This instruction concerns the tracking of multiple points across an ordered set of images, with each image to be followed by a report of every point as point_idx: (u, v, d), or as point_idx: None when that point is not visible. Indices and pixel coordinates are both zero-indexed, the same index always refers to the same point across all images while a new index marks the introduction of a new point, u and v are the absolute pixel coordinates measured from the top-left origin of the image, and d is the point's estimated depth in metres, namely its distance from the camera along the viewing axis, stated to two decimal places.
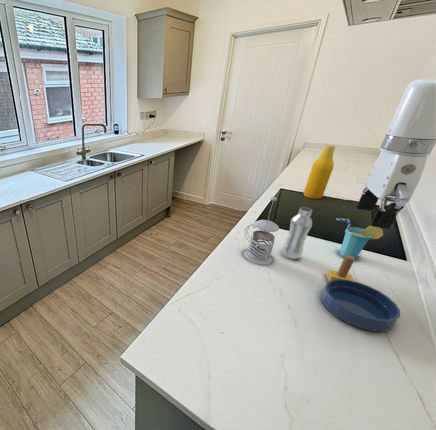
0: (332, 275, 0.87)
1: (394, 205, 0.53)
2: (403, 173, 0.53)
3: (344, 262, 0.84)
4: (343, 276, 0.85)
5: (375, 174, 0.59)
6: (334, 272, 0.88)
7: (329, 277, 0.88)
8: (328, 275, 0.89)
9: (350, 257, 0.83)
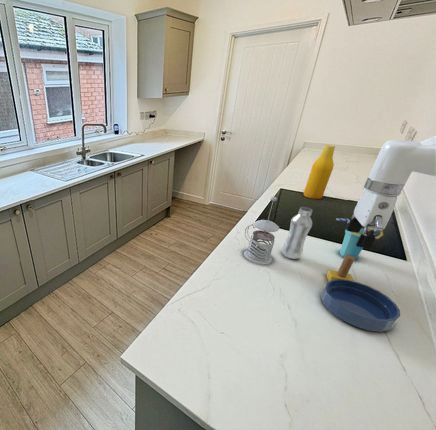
0: (332, 275, 0.87)
1: (373, 232, 0.71)
2: (380, 208, 0.71)
3: (344, 262, 0.84)
4: (343, 276, 0.85)
5: (360, 206, 0.77)
6: (334, 272, 0.88)
7: (329, 277, 0.88)
8: (328, 275, 0.89)
9: (350, 257, 0.83)
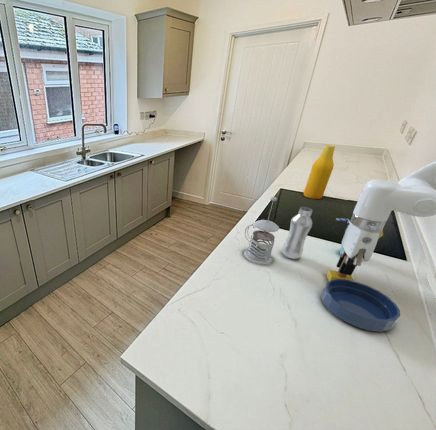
0: (332, 275, 0.87)
1: (352, 262, 0.79)
2: (364, 242, 0.76)
3: None
4: (343, 276, 0.85)
5: (346, 238, 0.82)
6: (334, 272, 0.88)
7: (329, 277, 0.88)
8: (328, 275, 0.89)
9: None
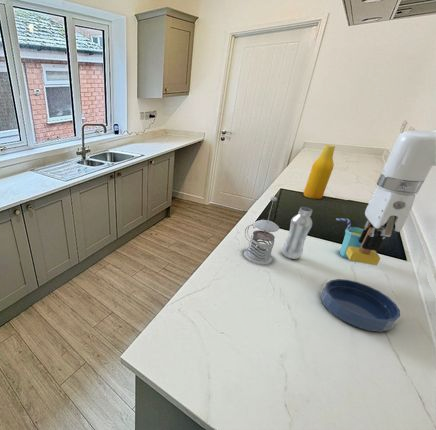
0: (354, 251, 0.74)
1: (380, 233, 0.66)
2: (395, 208, 0.63)
3: None
4: (367, 252, 0.72)
5: (372, 206, 0.69)
6: (356, 248, 0.75)
7: (349, 253, 0.75)
8: (348, 251, 0.76)
9: None
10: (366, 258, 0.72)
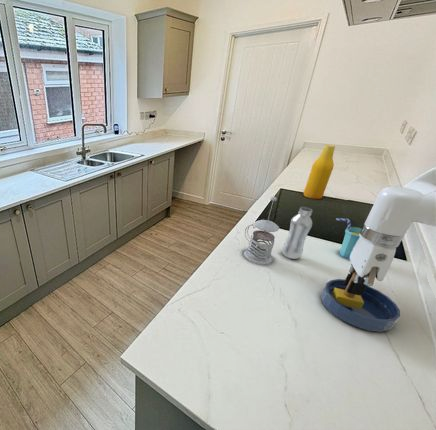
0: (339, 294, 0.76)
1: (363, 281, 0.69)
2: (377, 259, 0.65)
3: (352, 280, 0.73)
4: (351, 296, 0.74)
5: (356, 253, 0.71)
6: (341, 291, 0.77)
7: (335, 296, 0.77)
8: (334, 293, 0.78)
9: None
10: (350, 301, 0.74)
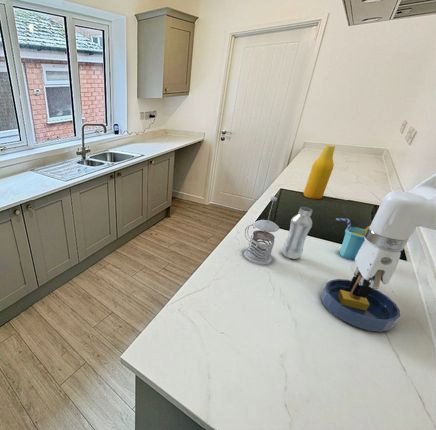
0: (345, 296, 0.77)
1: (368, 284, 0.70)
2: (382, 263, 0.67)
3: None
4: (357, 298, 0.76)
5: (361, 256, 0.73)
6: (346, 293, 0.78)
7: (341, 298, 0.78)
8: (339, 295, 0.79)
9: None
10: (356, 303, 0.76)
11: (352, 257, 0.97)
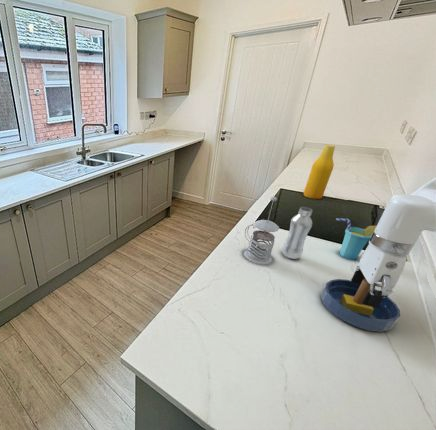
0: (348, 301, 0.76)
1: (380, 293, 0.65)
2: (388, 267, 0.65)
3: (362, 287, 0.73)
4: (360, 303, 0.74)
5: (366, 260, 0.71)
6: (350, 297, 0.77)
7: (344, 303, 0.77)
8: (343, 300, 0.78)
9: None
10: (360, 308, 0.74)
11: (352, 257, 0.97)
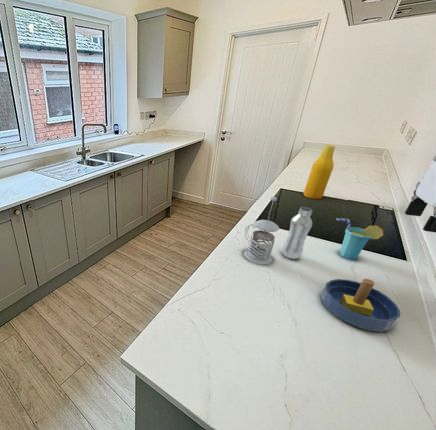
0: (348, 301, 0.76)
1: None
2: None
3: (362, 287, 0.73)
4: (360, 303, 0.74)
5: (427, 184, 0.66)
6: (350, 297, 0.77)
7: (344, 303, 0.77)
8: (343, 300, 0.78)
9: (369, 282, 0.72)
10: (360, 308, 0.74)
11: (352, 257, 0.97)
